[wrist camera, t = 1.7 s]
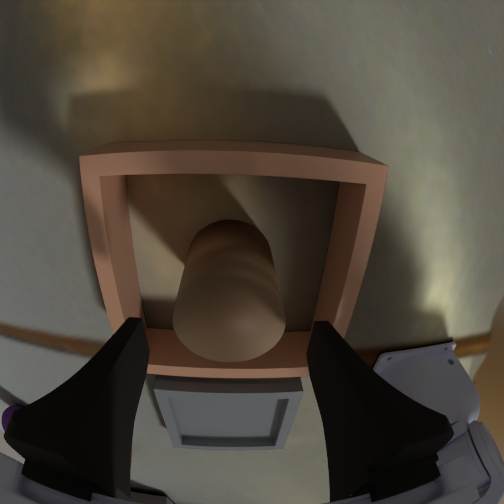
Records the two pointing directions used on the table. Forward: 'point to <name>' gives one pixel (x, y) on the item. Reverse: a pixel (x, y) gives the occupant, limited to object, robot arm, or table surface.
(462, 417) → the robot arm
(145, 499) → the organizer tray
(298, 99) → the table surface
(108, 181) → the holder
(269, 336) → the brown rounded cylinder
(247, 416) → the tray
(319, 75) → the table surface
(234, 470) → the table surface
